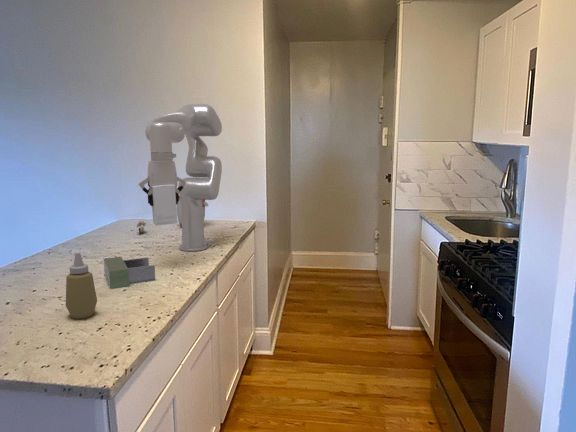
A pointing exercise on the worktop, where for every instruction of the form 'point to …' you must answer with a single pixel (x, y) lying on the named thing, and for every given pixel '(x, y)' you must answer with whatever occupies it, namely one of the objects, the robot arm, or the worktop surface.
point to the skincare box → (164, 205)
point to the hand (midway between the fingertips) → (163, 204)
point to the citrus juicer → (180, 210)
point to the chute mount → (127, 271)
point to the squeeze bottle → (80, 290)
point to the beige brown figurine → (141, 226)
